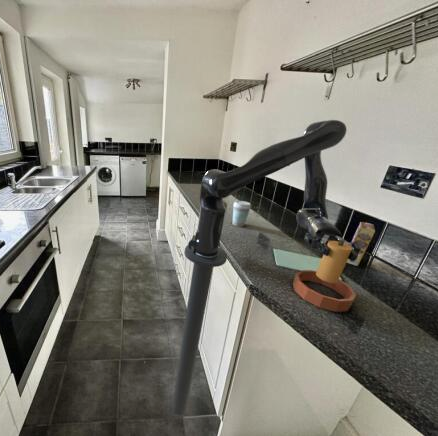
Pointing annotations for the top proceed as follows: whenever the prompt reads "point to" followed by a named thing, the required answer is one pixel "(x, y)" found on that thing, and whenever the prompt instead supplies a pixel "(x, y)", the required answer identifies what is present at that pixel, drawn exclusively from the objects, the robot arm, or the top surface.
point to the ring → (320, 299)
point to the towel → (296, 261)
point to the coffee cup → (240, 212)
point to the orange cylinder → (334, 261)
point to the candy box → (362, 240)
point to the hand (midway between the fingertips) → (340, 255)
